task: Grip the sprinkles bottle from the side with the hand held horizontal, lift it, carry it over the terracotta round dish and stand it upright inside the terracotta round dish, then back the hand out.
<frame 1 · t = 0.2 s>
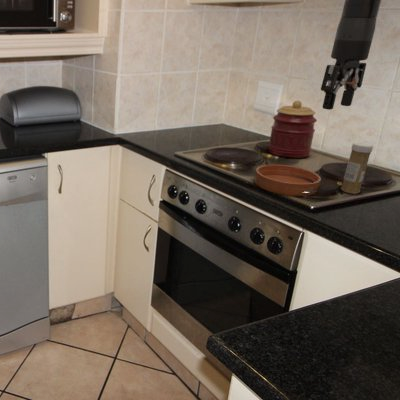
hand: (336, 107, 118), 24 cm above the countertop, tool pointing down, fingers open, 8 cm apart
terracotta round dish: (285, 185, 134), on the countertop
sprinkles bottle: (349, 191, 130), on the countertop
kitchen canister: (288, 153, 162), on the countertop
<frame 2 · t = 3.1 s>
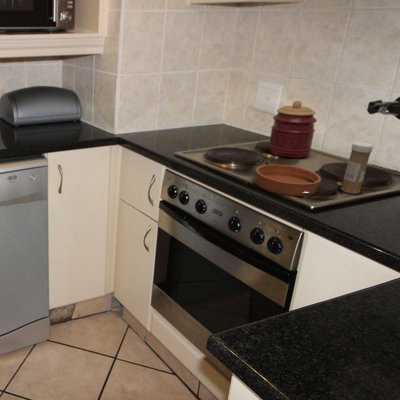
hand: (388, 113, 128), 20 cm above the countertop, tool horizontal, fingers open, 8 cm apart
nothing on the countertop moved.
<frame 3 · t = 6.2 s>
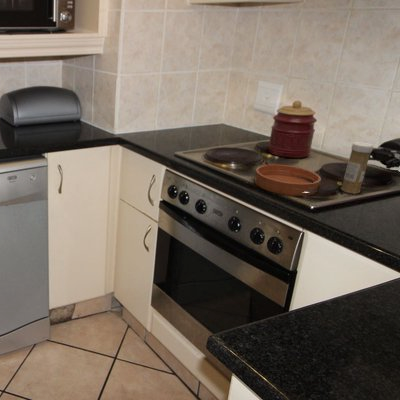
hand: (371, 160, 131), 7 cm above the countertop, tool horizontal, fingers open, 8 cm apart
nothing on the countertop moved.
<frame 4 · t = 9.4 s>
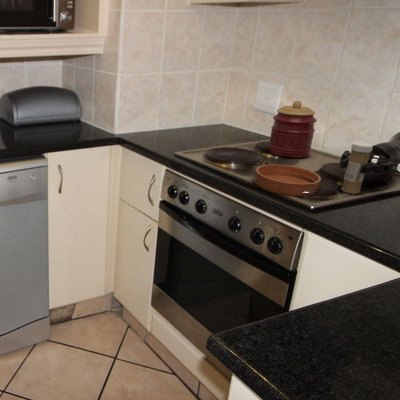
hand: (352, 166, 126), 8 cm above the countertop, tool horizontal, fingers closed on sprinkles bottle, 4 cm apart
sprinkles bottle: (349, 191, 130), on the countertop, touching gripper
everything else where it was.
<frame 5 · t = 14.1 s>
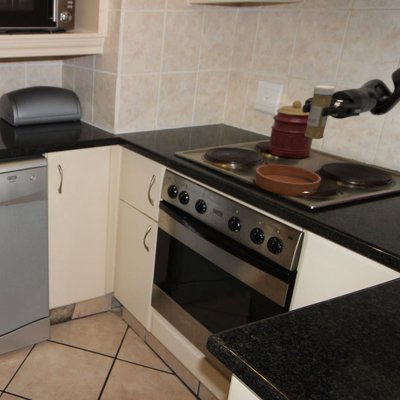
hand: (314, 110, 123), 22 cm above the countertop, tool horizontal, fingers closed on sprinkles bottle, 4 cm apart
sprinkles bottle: (313, 137, 127), point 14 cm above the countertop, touching gripper
everything else where it was.
when the fingers open (8 cm above the countertop, at t = 18.7 s): sprinkles bottle stays where it is, resting on terracotta round dish.
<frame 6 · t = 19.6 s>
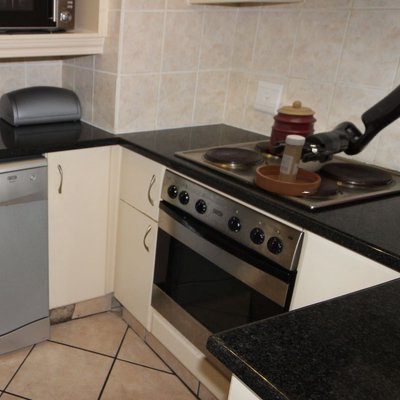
hand: (288, 154, 129), 9 cm above the countertop, tool horizontal, fingers open, 8 cm apart
sprinkles bottle: (285, 184, 134), resting on terracotta round dish
everything else where it was.
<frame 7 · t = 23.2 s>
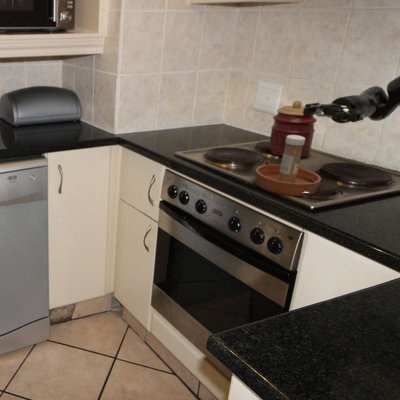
hand: (320, 114, 131), 19 cm above the countertop, tool horizontal, fingers open, 8 cm apart
nothing on the countertop moved.
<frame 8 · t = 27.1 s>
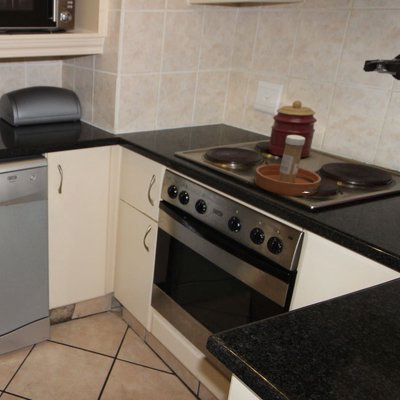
hand: (384, 69, 120), 32 cm above the countertop, tool horizontal, fingers open, 8 cm apart
nothing on the countertop moved.
at the end: sprinkles bottle inside the target area in the terracotta round dish (0.2 cm from its centre), point 0.4 cm above the terracotta round dish's base; sprinkles bottle tilted 0°; the gripper is holding nothing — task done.
